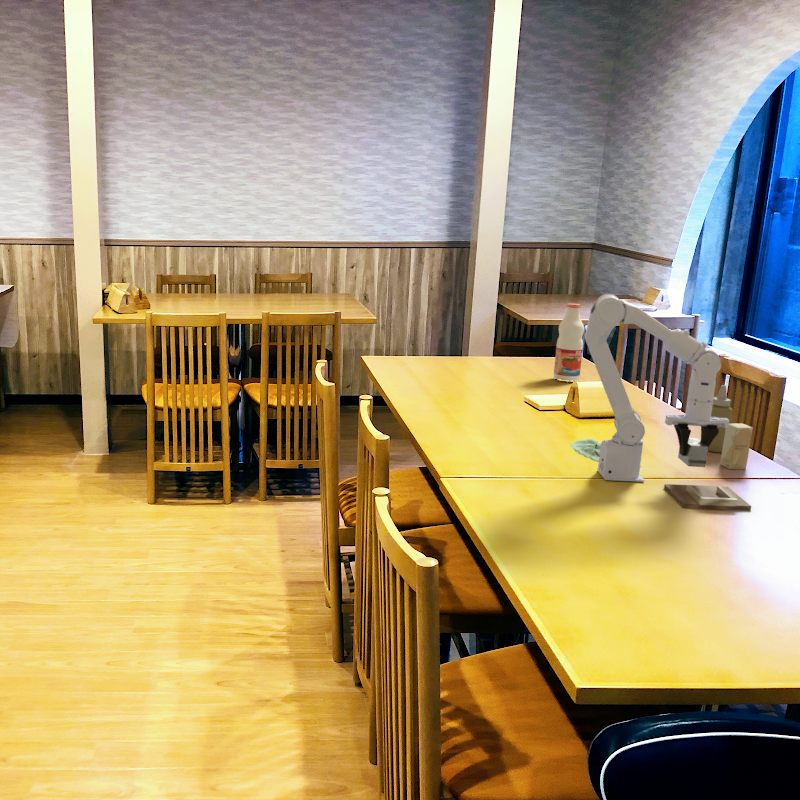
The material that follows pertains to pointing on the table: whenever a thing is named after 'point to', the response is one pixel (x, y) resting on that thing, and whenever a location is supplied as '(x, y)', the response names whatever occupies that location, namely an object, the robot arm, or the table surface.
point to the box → (736, 446)
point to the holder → (706, 497)
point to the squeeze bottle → (721, 411)
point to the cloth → (587, 448)
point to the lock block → (695, 453)
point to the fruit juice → (569, 345)
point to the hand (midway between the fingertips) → (692, 455)
